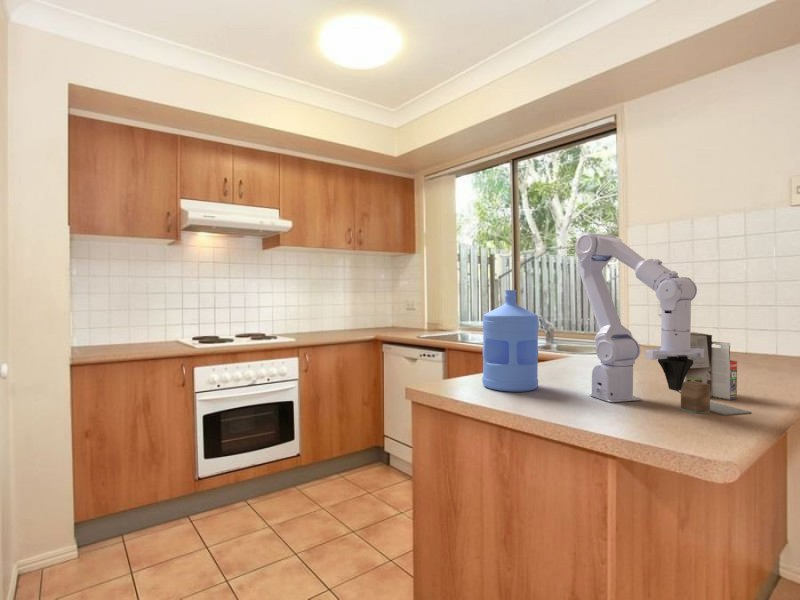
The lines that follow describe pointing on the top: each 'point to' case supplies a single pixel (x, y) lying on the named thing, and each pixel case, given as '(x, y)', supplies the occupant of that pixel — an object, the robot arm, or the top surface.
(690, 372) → the coffee box
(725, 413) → the rubber mat
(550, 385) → the top surface
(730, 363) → the ink box
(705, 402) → the walnut block
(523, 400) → the top surface
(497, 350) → the water jug
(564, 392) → the top surface
